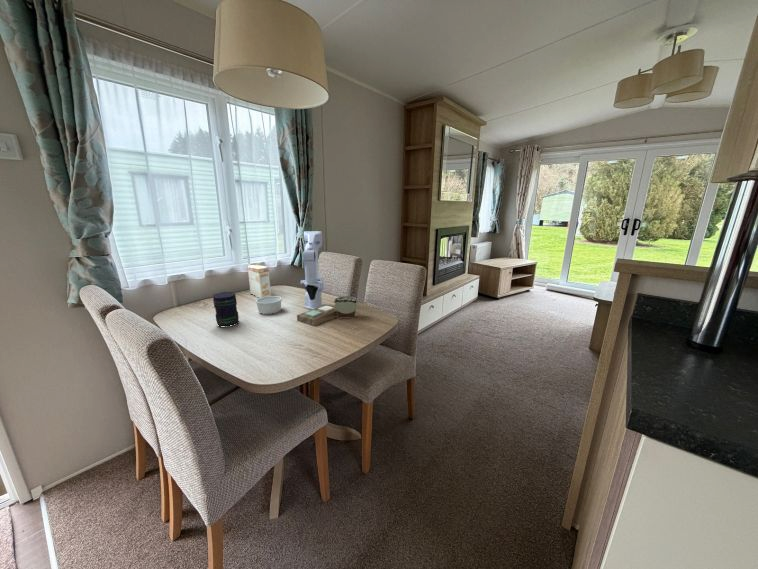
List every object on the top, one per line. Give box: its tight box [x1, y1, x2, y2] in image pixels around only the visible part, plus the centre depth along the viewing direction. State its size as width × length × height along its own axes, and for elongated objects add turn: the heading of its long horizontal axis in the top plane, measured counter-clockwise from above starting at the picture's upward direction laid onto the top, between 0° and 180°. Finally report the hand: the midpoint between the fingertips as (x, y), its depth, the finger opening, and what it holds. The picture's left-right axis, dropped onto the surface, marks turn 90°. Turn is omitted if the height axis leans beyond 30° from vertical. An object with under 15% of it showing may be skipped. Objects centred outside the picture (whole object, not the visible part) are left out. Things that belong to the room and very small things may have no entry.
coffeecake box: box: [247, 264, 272, 299], centre depth 188 cm, size 15×7×20 cm, turn 48°
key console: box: [296, 304, 337, 327], centre depth 152 cm, size 12×20×3 cm, turn 145°
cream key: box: [318, 305, 335, 312], centre depth 155 cm, size 6×6×2 cm
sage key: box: [305, 309, 322, 318], centre depth 148 cm, size 6×6×2 cm
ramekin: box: [255, 295, 283, 315], centre depth 161 cm, size 13×13×7 cm
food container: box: [333, 295, 358, 319], centre depth 153 cm, size 12×6×10 cm, turn 84°
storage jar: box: [212, 291, 240, 326], centre depth 142 cm, size 10×10×15 cm
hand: (312, 299), depth 151 cm, fingers closed
